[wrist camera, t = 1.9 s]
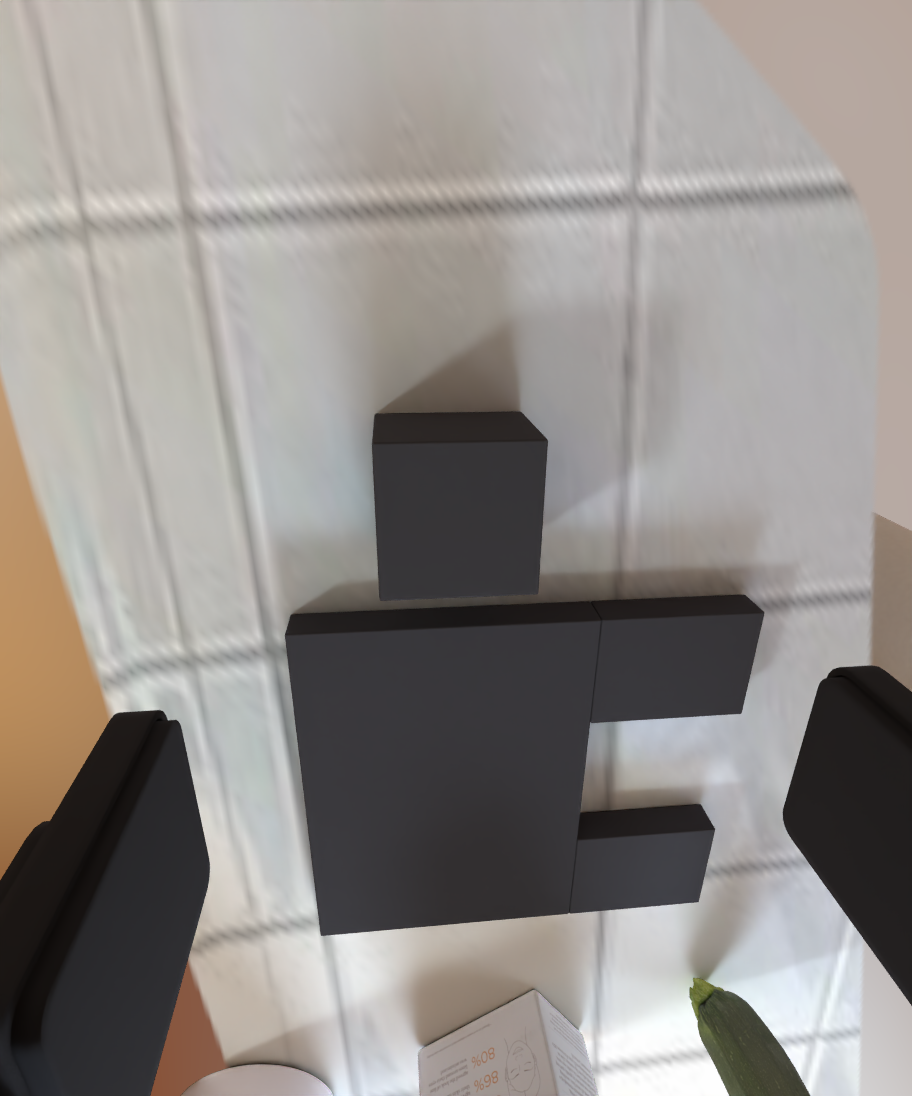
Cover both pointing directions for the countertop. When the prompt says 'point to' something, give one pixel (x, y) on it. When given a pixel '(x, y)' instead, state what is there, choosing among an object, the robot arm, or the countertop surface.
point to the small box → (510, 1055)
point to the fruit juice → (258, 1082)
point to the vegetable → (742, 1045)
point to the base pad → (499, 754)
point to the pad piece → (458, 504)
